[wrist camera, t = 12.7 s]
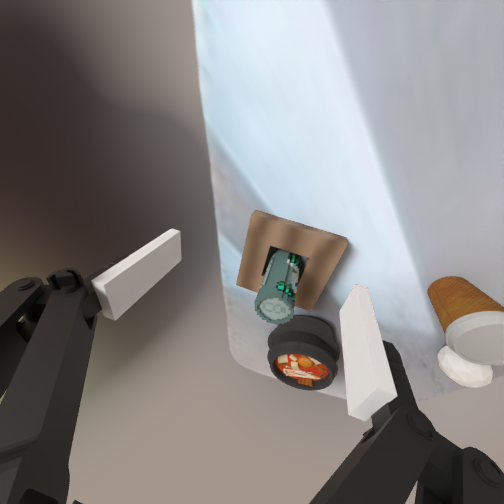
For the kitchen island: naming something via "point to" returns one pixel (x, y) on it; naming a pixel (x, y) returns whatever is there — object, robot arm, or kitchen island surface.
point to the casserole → (303, 353)
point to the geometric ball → (464, 369)
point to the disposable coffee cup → (469, 320)
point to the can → (279, 288)
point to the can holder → (296, 241)
